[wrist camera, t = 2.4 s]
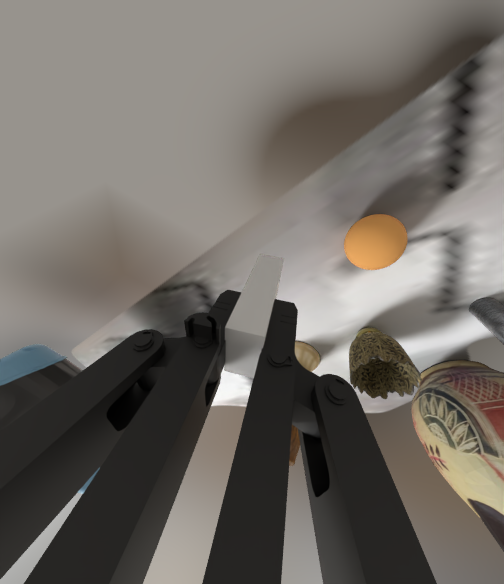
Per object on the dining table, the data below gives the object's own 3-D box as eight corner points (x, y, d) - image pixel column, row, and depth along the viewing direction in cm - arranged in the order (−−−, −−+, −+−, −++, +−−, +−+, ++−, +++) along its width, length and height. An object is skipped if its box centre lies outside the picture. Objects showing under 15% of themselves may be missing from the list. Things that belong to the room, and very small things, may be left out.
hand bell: (264, 355, 39) (243, 455, 26) (293, 333, 34) (284, 442, 21) (298, 376, 40) (294, 481, 27) (330, 358, 35) (343, 475, 23)
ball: (334, 252, 25) (340, 273, 21) (351, 204, 22) (362, 218, 17) (381, 260, 24) (398, 284, 20) (406, 212, 21) (432, 228, 17)
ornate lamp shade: (350, 354, 34) (360, 402, 27) (334, 323, 31) (342, 368, 24) (402, 345, 30) (428, 397, 24) (390, 309, 28) (416, 356, 21)
